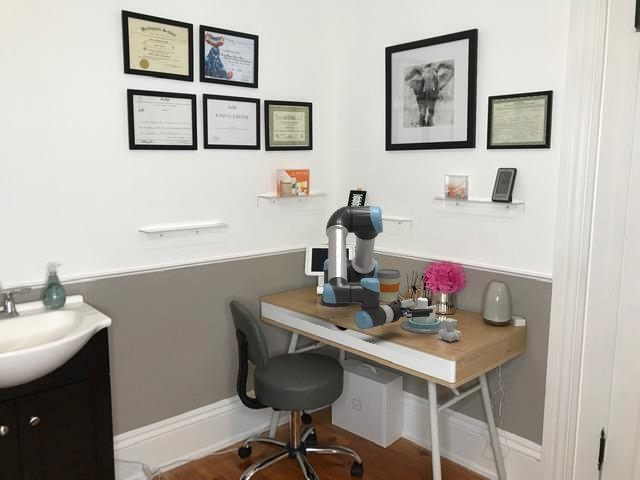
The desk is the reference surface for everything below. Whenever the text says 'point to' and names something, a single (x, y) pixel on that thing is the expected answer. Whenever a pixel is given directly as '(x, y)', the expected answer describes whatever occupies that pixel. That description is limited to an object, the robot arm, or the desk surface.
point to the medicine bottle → (422, 304)
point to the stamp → (449, 330)
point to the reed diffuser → (412, 294)
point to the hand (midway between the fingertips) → (423, 305)
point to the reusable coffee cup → (388, 284)
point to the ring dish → (420, 331)
